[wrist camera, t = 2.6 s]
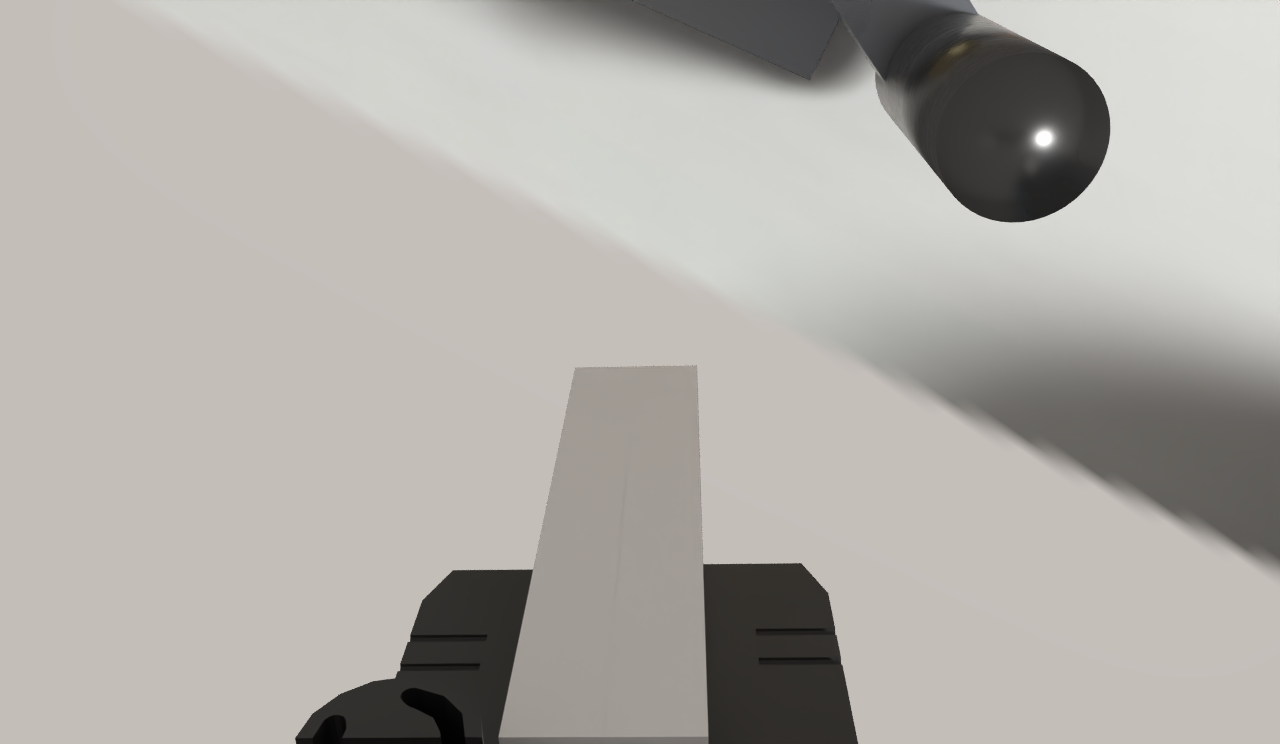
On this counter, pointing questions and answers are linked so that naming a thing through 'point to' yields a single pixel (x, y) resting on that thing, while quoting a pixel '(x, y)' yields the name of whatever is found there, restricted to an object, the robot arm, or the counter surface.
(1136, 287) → the counter surface
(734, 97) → the counter surface
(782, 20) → the base
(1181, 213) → the counter surface
